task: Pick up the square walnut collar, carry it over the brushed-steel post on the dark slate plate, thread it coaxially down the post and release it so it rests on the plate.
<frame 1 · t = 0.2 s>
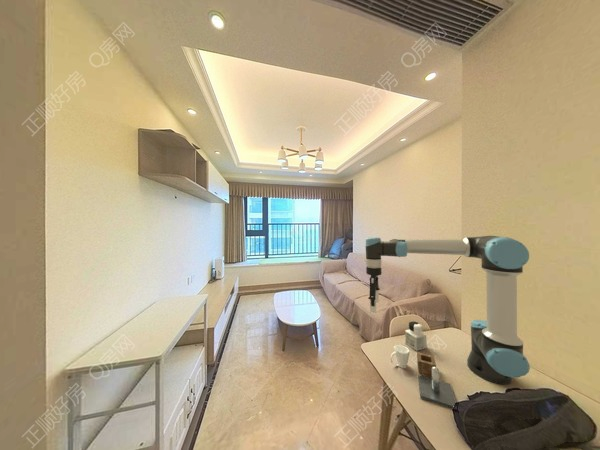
hand: (374, 306, 101), 27 cm above the table, fingers open, 13 cm apart
collar: (426, 371, 92), on the table
post stand: (435, 392, 80), on the table
container: (415, 346, 111), on the table
cup: (399, 365, 96), on the table
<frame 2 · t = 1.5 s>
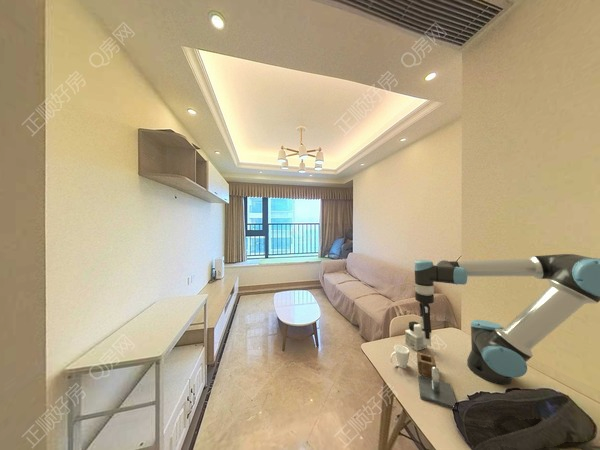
hand: (425, 337, 92), 16 cm above the table, fingers open, 13 cm apart
nothing on the table moved.
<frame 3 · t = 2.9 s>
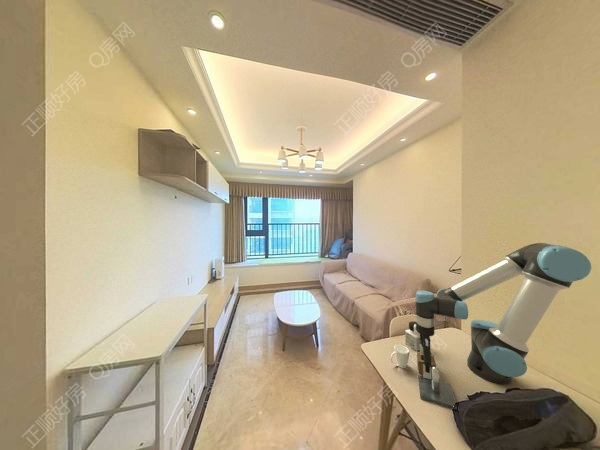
hand: (425, 367, 92), 1 cm above the table, fingers open, 13 cm apart
nothing on the table moved.
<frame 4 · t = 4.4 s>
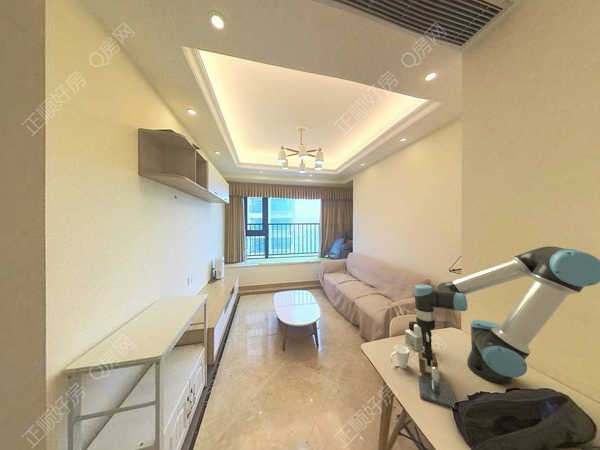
hand: (428, 366, 92), 3 cm above the table, fingers closed on collar, 7 cm apart
collar: (427, 368, 92), point 1 cm above the table, touching gripper
everything else where it was.
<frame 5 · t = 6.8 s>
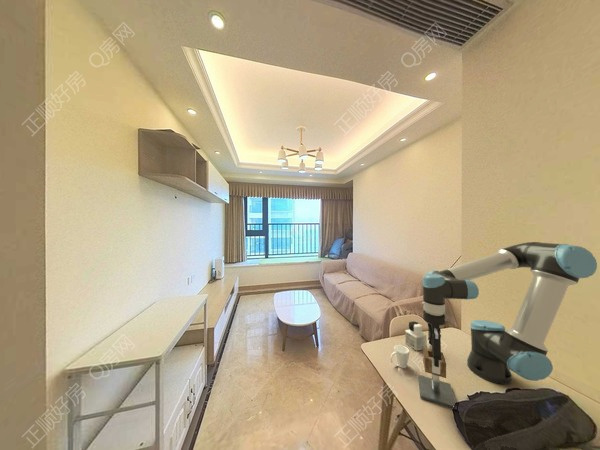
hand: (434, 366, 80), 11 cm above the table, fingers closed on collar, 7 cm apart
collar: (433, 369, 81), point 10 cm above the table, touching gripper
everything else where it was.
when the fingers open (3 cm above the table, at t = 9.1 s): collar stays where it is, resting on post stand.
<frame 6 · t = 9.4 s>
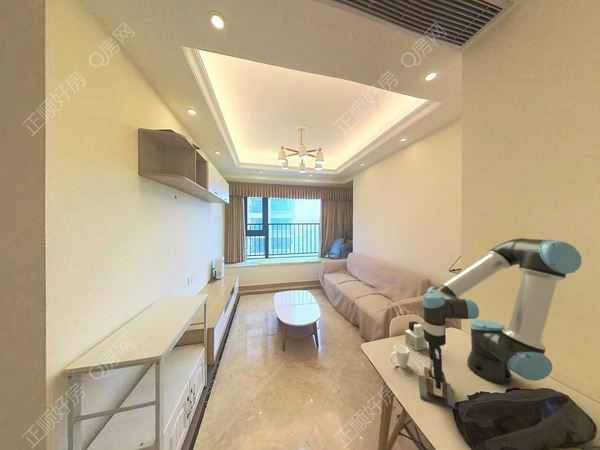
hand: (435, 384, 80), 3 cm above the table, fingers open, 10 cm apart
collar: (435, 389, 80), point 1 cm above the table, touching post stand
everything else where it was.
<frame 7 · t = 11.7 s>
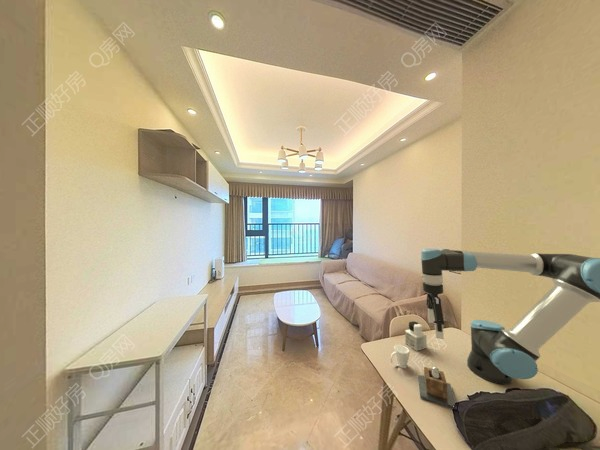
hand: (435, 329, 87), 22 cm above the table, fingers open, 13 cm apart
nothing on the table moved.
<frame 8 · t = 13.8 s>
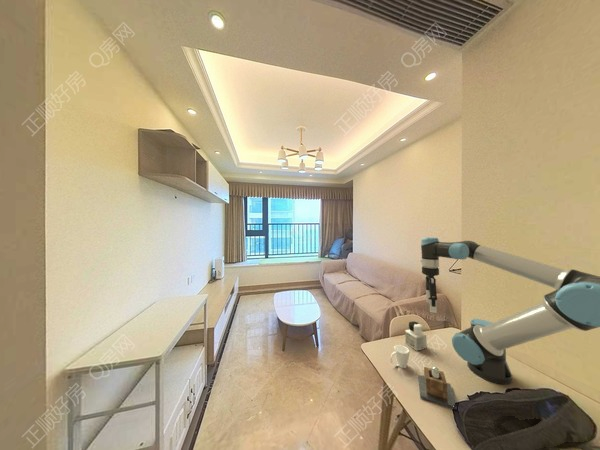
hand: (431, 307, 101), 27 cm above the table, fingers open, 13 cm apart
nothing on the table moved.
at the end: collar 0.2 cm off-centre on the post stand, point 1.2 cm above the post stand's base; the gripper is holding nothing; collar tilted 0° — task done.
